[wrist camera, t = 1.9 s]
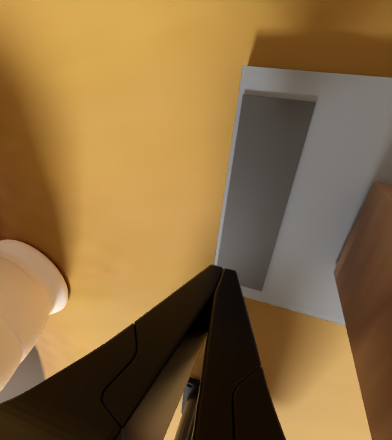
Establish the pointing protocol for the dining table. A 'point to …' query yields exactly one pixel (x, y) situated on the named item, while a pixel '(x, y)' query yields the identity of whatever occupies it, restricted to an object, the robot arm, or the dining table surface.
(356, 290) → the wooden block
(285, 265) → the bridge deck
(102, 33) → the dining table surface
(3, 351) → the jar
